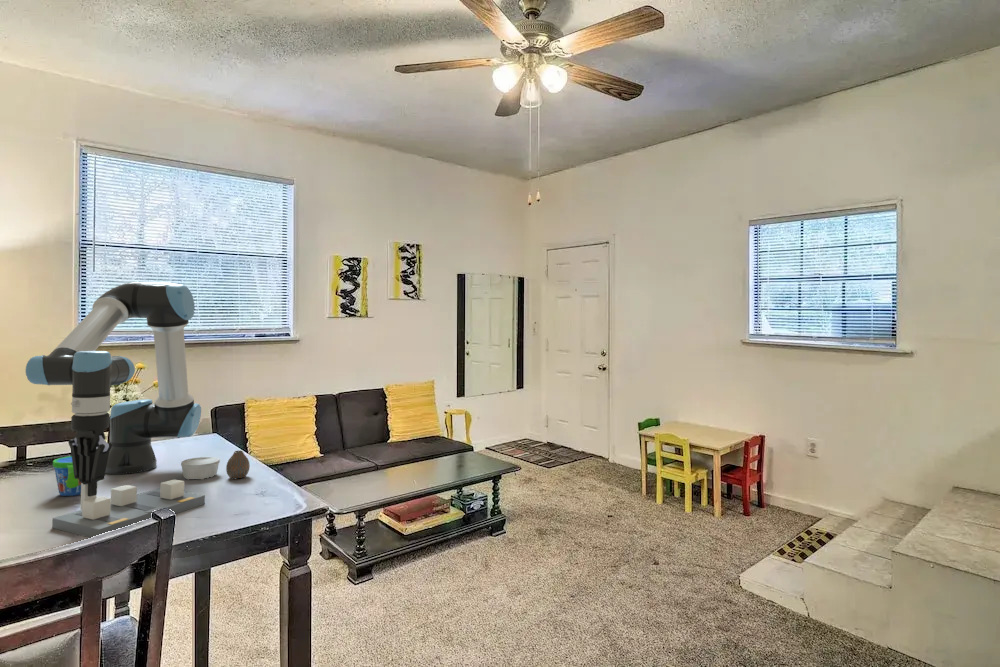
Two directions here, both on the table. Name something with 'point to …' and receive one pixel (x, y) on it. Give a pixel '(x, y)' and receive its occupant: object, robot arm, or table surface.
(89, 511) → the knob near
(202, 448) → the table surface
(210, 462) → the ramekin
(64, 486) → the snack cup
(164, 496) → the knob far
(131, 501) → the knob mid
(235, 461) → the vase
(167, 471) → the table surface
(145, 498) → the switch panel
